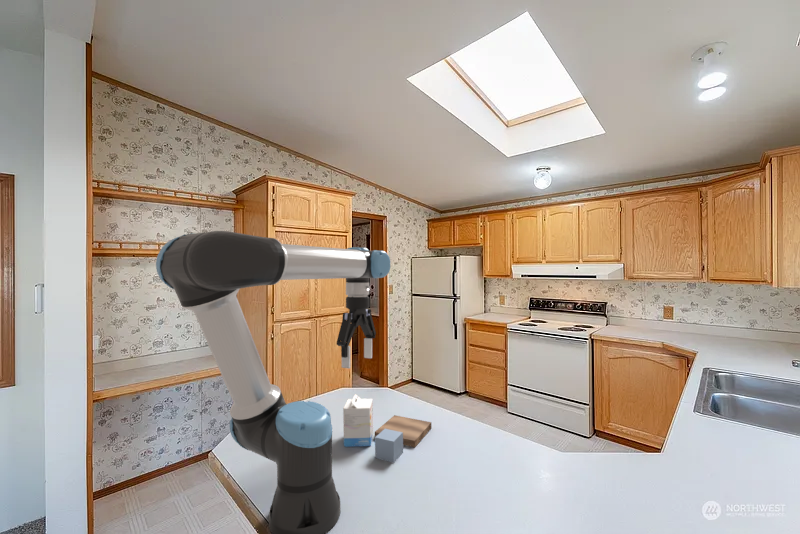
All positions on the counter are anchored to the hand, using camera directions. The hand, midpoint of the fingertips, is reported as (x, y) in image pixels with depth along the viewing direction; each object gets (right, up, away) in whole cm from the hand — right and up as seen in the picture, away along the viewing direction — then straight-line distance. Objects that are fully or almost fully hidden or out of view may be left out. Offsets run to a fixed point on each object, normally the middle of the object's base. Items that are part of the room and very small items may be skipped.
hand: (357, 362), depth 112 cm
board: (+15, -24, +3) cm, 28 cm away
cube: (+10, -24, -10) cm, 28 cm away
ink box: (0, -25, -1) cm, 25 cm away
